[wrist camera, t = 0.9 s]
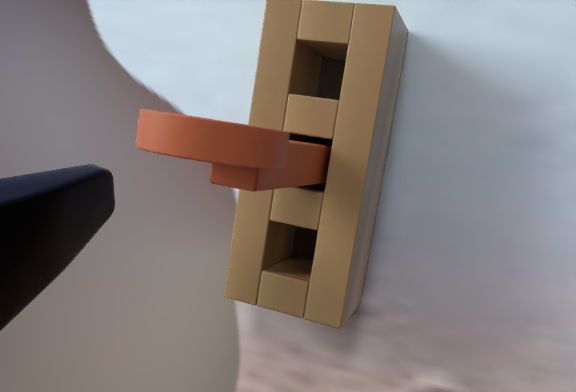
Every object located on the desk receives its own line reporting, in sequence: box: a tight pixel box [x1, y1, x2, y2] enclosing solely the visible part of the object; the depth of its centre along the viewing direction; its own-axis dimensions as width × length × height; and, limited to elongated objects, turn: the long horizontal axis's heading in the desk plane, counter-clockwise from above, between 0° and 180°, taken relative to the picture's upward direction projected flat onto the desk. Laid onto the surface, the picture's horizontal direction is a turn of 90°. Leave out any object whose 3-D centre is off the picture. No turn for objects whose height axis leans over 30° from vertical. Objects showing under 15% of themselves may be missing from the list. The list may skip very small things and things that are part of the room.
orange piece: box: [136, 109, 332, 192], centre depth 19 cm, size 2×4×14 cm, turn 80°
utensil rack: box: [224, 0, 408, 328], centre depth 24 cm, size 5×13×4 cm, turn 170°
